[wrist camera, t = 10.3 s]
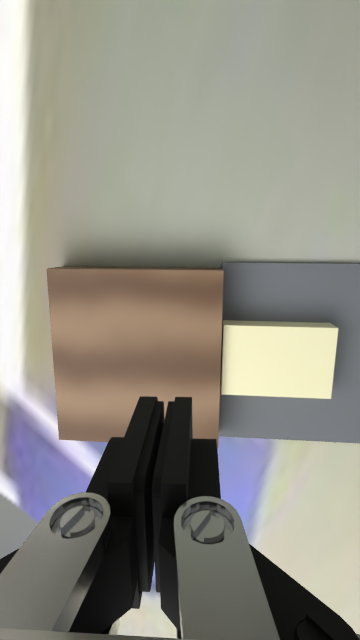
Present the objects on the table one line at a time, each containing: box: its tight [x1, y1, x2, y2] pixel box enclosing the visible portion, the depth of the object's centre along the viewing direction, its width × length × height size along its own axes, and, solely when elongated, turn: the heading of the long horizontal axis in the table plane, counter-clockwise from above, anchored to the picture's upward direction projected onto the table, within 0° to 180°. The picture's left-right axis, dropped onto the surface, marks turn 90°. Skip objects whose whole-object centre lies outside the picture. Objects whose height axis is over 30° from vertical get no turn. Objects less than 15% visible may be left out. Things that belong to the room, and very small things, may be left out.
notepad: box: [220, 320, 338, 399], centre depth 29 cm, size 6×9×2 cm, turn 90°
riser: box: [47, 267, 224, 448], centre depth 30 cm, size 15×14×3 cm
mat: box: [218, 262, 360, 443], centre depth 30 cm, size 16×14×1 cm
